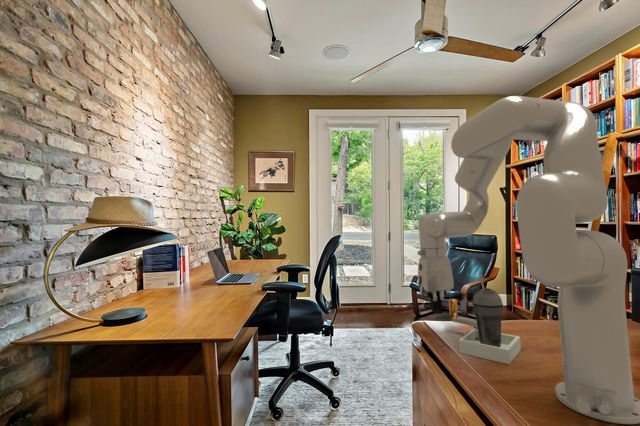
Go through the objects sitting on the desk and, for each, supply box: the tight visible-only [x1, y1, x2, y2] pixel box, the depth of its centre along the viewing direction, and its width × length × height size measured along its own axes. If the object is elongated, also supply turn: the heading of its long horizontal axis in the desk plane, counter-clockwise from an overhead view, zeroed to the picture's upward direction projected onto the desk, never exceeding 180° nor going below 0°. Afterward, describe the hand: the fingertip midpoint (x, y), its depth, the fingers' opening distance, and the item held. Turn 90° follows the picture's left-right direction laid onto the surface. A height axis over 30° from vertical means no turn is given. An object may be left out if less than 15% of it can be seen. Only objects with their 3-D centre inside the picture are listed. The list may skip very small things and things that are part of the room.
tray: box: [458, 328, 522, 365], centre depth 82 cm, size 12×12×3 cm
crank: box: [448, 298, 478, 329], centre depth 94 cm, size 13×5×7 cm, turn 35°
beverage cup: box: [471, 271, 504, 347], centre depth 82 cm, size 7×7×20 cm
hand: (436, 312), depth 97 cm, fingers closed
